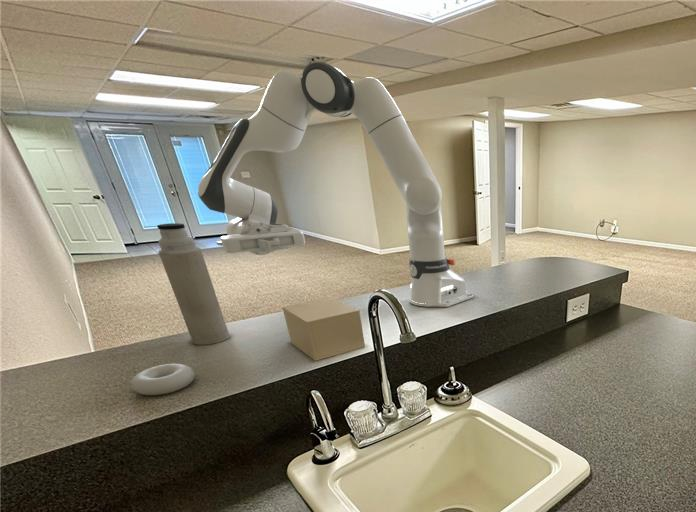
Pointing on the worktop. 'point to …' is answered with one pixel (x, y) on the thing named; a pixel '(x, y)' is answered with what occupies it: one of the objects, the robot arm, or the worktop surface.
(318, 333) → the tan cardboard box
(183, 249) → the thermos bottle
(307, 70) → the robot arm
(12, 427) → the worktop surface
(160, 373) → the donut
